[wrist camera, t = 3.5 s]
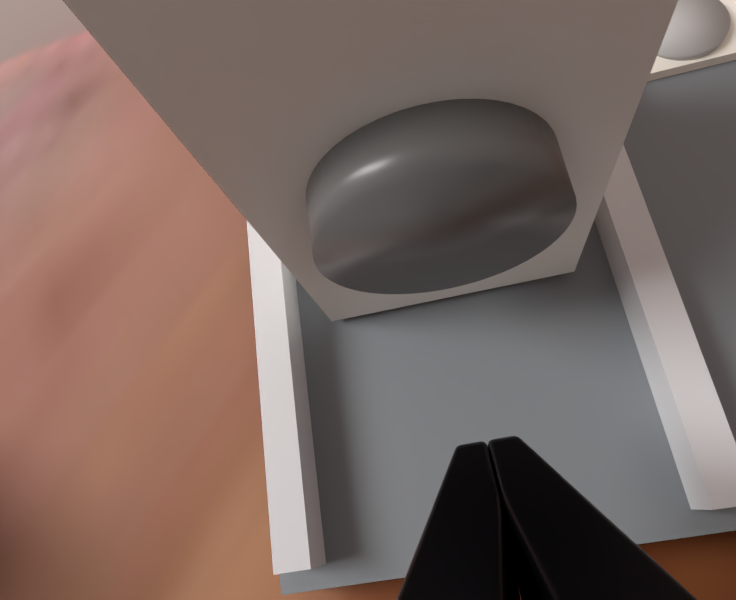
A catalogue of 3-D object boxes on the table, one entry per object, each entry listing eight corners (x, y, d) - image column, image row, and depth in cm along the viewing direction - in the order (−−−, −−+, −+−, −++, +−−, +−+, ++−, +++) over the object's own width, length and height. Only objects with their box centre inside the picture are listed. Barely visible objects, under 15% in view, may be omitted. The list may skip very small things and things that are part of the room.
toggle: (586, 310, 13) (827, -153, 4) (336, 359, 14) (41, 70, 5) (523, 104, 15) (580, -508, 6) (310, 156, 16) (74, -316, 7)
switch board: (974, 489, 12) (1102, 485, 10) (301, 585, 14) (261, 604, 11) (682, -82, 19) (712, -173, 16) (251, 37, 20) (219, -27, 18)
